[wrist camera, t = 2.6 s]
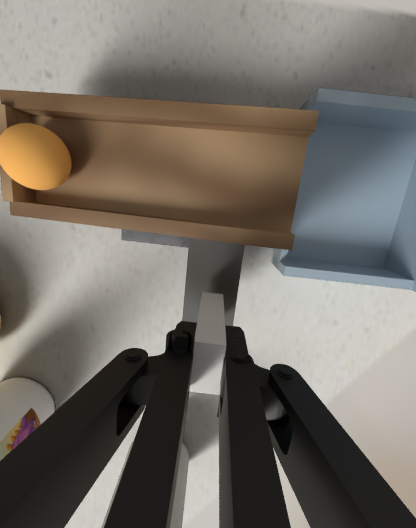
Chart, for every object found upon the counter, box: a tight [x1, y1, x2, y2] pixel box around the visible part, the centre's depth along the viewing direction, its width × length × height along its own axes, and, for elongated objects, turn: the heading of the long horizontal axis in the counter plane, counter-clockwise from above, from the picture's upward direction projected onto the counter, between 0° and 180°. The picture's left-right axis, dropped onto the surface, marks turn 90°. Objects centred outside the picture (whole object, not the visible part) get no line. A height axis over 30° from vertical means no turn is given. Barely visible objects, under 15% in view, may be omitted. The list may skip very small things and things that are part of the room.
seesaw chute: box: [0, 90, 319, 326], centre depth 18 cm, size 16×20×3 cm
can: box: [101, 441, 189, 528], centre depth 25 cm, size 8×8×12 cm
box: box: [272, 88, 416, 292], centre depth 19 cm, size 14×11×8 cm
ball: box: [0, 123, 72, 190], centre depth 16 cm, size 4×4×4 cm
